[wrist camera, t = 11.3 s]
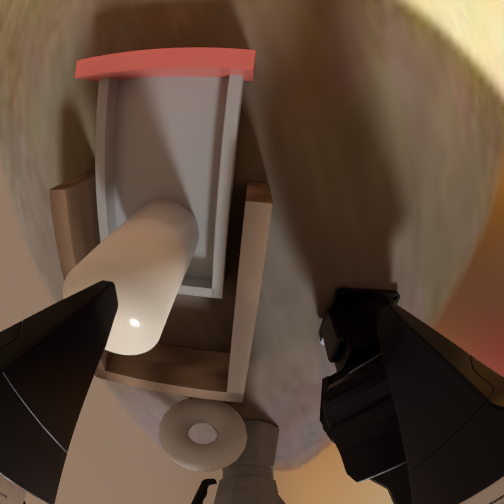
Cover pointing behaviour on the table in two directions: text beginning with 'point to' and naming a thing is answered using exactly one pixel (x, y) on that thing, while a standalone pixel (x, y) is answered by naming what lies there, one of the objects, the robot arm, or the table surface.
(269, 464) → the coffeepot
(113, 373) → the slot
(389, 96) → the table surface
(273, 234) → the table surface
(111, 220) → the tray
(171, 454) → the donut
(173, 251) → the canister
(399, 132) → the table surface
